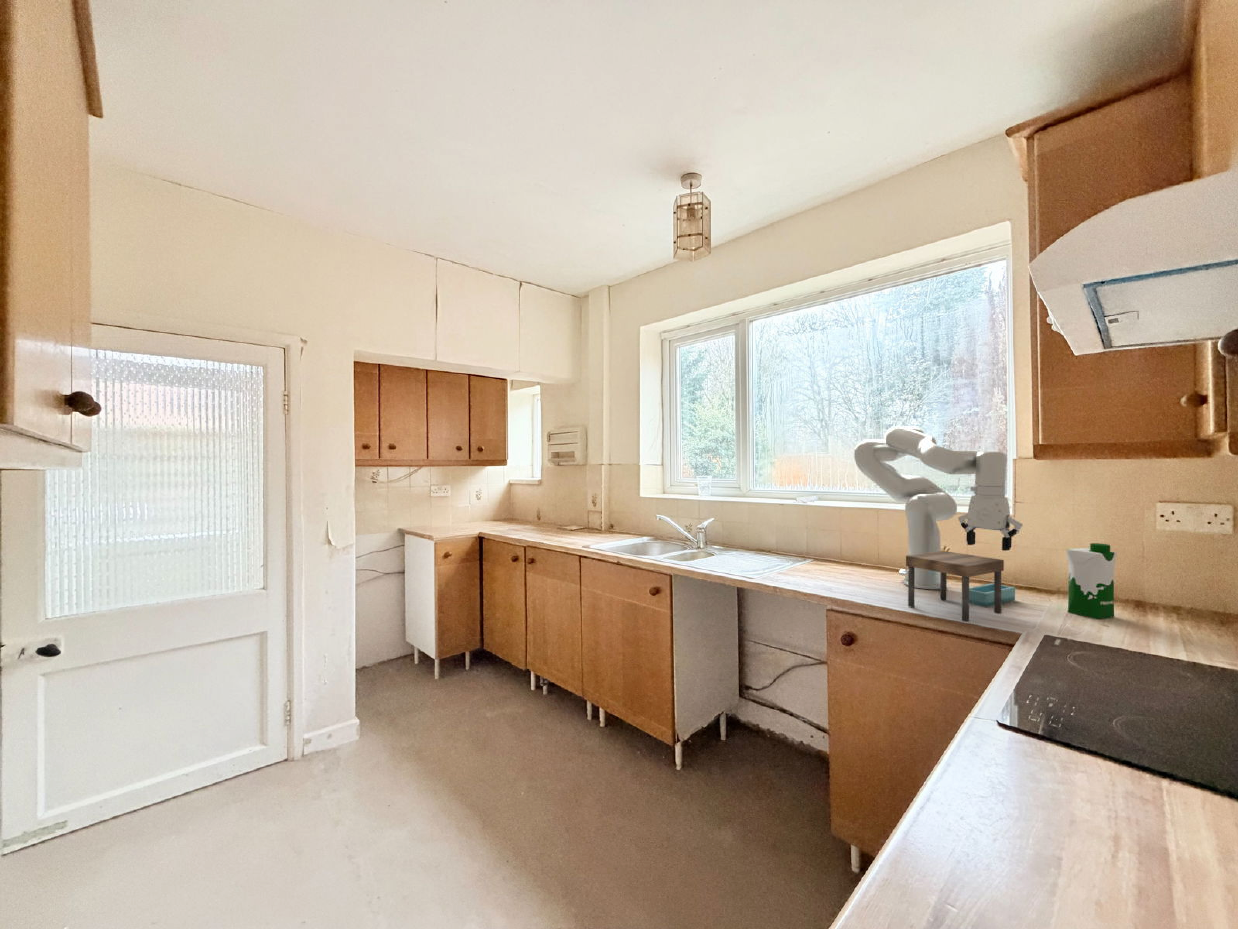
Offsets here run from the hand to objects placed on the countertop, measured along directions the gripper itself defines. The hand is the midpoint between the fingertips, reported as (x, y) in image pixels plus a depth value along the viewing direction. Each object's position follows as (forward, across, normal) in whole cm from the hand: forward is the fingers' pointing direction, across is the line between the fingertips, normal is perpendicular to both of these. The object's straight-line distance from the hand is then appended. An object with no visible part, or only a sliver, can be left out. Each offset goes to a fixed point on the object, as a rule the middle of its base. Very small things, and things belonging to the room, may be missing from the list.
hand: (988, 547), depth 156 cm
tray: (+16, +1, 0) cm, 16 cm away
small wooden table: (+16, +1, -19) cm, 25 cm away
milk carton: (+16, +21, +10) cm, 29 cm away
